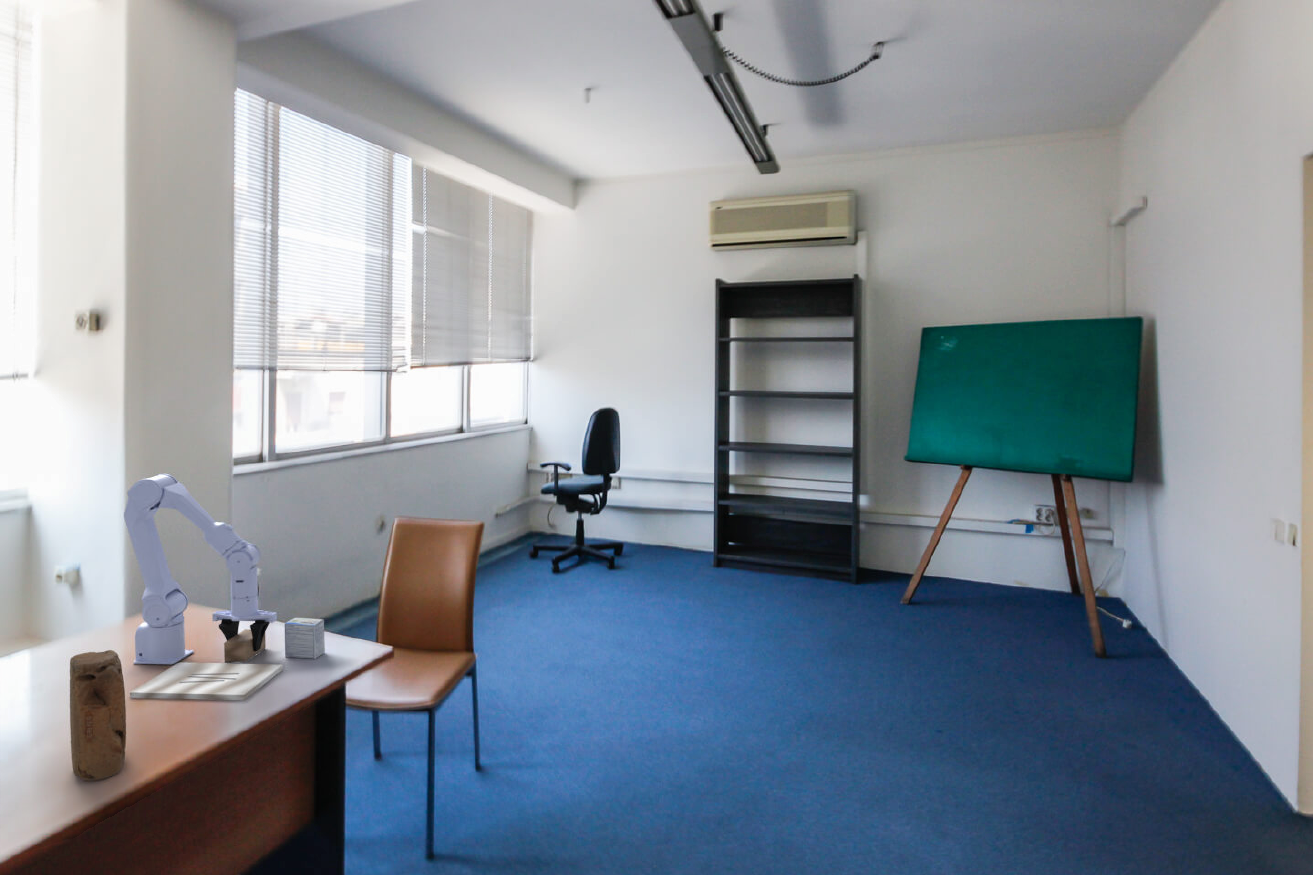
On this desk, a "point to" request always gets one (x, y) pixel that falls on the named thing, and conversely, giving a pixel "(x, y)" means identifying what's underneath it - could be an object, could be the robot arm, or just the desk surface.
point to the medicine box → (304, 638)
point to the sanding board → (207, 681)
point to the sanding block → (241, 647)
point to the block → (97, 714)
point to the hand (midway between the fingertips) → (245, 649)
